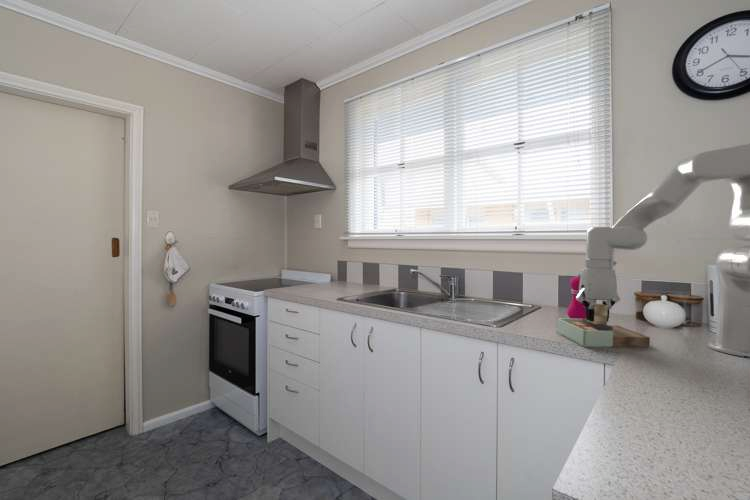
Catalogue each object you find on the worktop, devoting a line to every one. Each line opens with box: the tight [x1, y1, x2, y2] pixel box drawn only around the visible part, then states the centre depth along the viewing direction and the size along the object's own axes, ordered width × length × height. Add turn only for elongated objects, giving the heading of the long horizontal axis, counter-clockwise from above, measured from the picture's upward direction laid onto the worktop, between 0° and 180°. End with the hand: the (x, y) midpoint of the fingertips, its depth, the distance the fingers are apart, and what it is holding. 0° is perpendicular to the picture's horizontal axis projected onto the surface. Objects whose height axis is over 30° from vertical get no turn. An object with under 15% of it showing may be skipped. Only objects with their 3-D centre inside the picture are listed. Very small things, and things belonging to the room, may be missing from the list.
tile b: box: [572, 322, 586, 329], centre depth 117 cm, size 4×4×2 cm
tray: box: [556, 317, 613, 348], centre depth 114 cm, size 9×16×5 cm, turn 0°
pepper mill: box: [566, 272, 586, 319], centre depth 132 cm, size 7×7×20 cm
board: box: [609, 325, 651, 348], centre depth 114 cm, size 12×14×3 cm
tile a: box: [583, 327, 598, 331], centre depth 111 cm, size 4×4×2 cm
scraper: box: [582, 302, 613, 331], centre depth 114 cm, size 4×11×8 cm, turn 0°
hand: (597, 320), depth 113 cm, fingers closed on scraper, 4 cm apart
